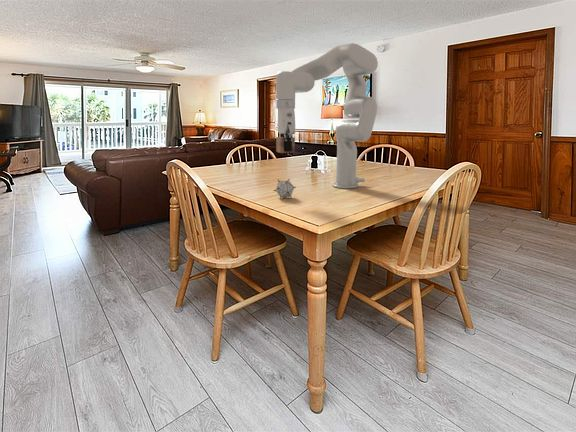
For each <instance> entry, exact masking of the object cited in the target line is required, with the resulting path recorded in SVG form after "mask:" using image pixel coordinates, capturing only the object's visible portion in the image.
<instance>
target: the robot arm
mask: <svg viewBox="0 0 576 432" xmlns="http://www.w3.org/2000/svg"><path fill="white" fill-rule="evenodd" d="M378 62H379V61H378V58H377V57H376V55H375V54H374V53H373V52H372V51H370V50H368V49H366V48H365V47H363V46H362V45H360V44H357V43H354V42H351V43H346V44H345V43H344V44H341V45H340V44H339V45H337V46H335V47H333V48H332V49H329V50H328V51H327V52H325V53H323V54H322V55H321V56H319V57H318V58H316V59H314V60H311V61H309V62H307V63H305V64H302V65H301V66H298V67H297V68H295V69H293V70H291V71H288V70H287V71H286V70H283V71H278V72H277V73H276V80H275V81H276V82H275V86H276V88H275V89H276V90H275V91H276V94H275V95H276V97H275V99H276V100H275V101H276V102H275V104H276V105H275V106H276V107H275V108H276V109H277V132H278V137H285V141H284V151H285V152H288V151H292V137H293V135H295V134H296V115H295V114H296V112H295V109H296V94H297V93H299V94H300V93H301V94H302V93H309V92H310V91H312V90H313V88H314V86H315V83H316V82H315V81H319V80H323V79H326V78H328V77H330V76H331V75H332V74H334V73H335V72H337V71H339V70H340V69H341V68H342V71H343V73H344V75H345V77H346V79H347V82H348V83H347V84H348V89H347V94H346V99H345V102H344V107H343V113H344V116H345V117H347V118H350V119H345V120H341V121H340V122H338V123H337V124H336V127H335V138H336V171H335V174H336V175H335V182H333V183H332V187H334V188H338V189H357V188H358V187H359V185H360V184H359V183H364V182H365V178H364V177H358V176H357V160H358V158H357V157H358V149H357V145H356V143H355V142H357V143H358V142H361V143H363V142H367V141H368V140H369V139H370V138H371V136H372V133H373V128H374V125H375V120H376V117H377V113H378V103H377V101H376V99H375V98H374V97H372V96H366V95H367V91H368V86H367V83H366V80H365V78H364V75H371V74H373V73H375V71H377V69H378V64H379V63H378ZM355 119H356V120H355ZM357 119H358V120H357Z"/></svg>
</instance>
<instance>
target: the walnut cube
mask: <svg viewBox="0 0 576 432" xmlns="http://www.w3.org/2000/svg"><path fill="white" fill-rule="evenodd" d="M275 140H276V141H275V142H276V143H275V144H276V148H275V149H276V150H275V152H277V153H280V154H292V153H293V154H295V146H296V143H295V141H296V137H293V136H292V151H288V152H285V151H284V141H285V137H279V136H276V139H275Z"/></svg>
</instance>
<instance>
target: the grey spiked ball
mask: <svg viewBox="0 0 576 432" xmlns="http://www.w3.org/2000/svg"><path fill="white" fill-rule="evenodd" d="M296 188H297V186H294V185H293V184H292V182H291V181H290V178H289V179H287V180H280V179H277V185H276V188H275V189H273V191H274V192H276V193H277V194H278V196H279V200H281V199H282V198H291V199H292V194H293V191H294V190H295V189H296Z"/></svg>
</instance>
